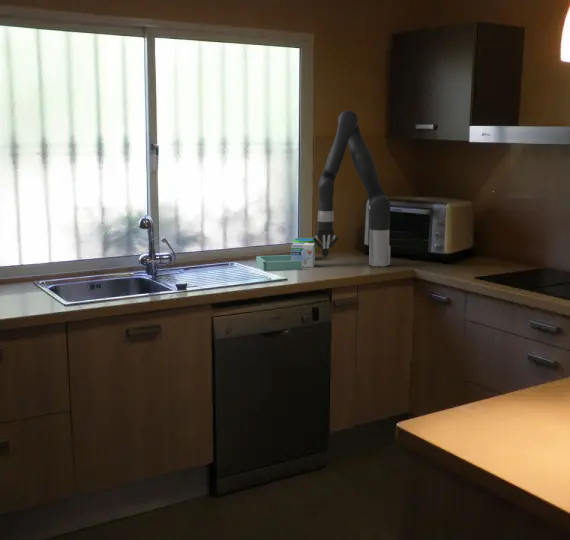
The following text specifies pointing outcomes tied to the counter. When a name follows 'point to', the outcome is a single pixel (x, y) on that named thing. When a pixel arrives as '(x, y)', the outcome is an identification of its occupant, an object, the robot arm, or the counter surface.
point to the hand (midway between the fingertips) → (325, 256)
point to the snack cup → (305, 241)
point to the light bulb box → (303, 253)
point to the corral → (278, 263)
